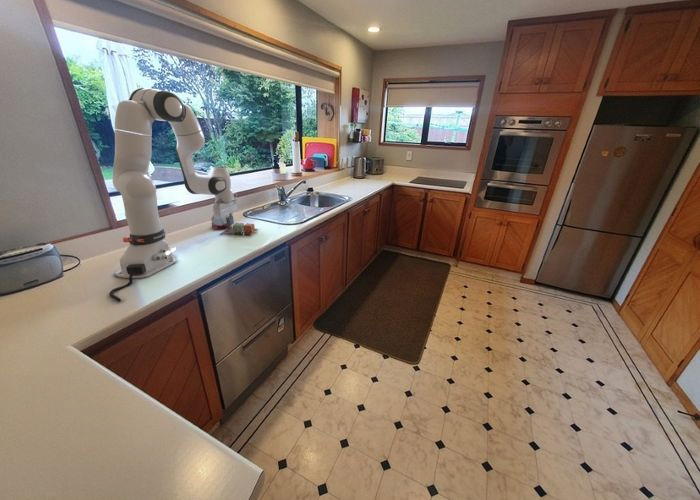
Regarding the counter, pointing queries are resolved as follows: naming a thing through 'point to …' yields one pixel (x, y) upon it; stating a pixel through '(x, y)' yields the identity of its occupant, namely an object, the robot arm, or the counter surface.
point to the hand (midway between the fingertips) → (228, 221)
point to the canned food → (218, 223)
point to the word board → (231, 232)
